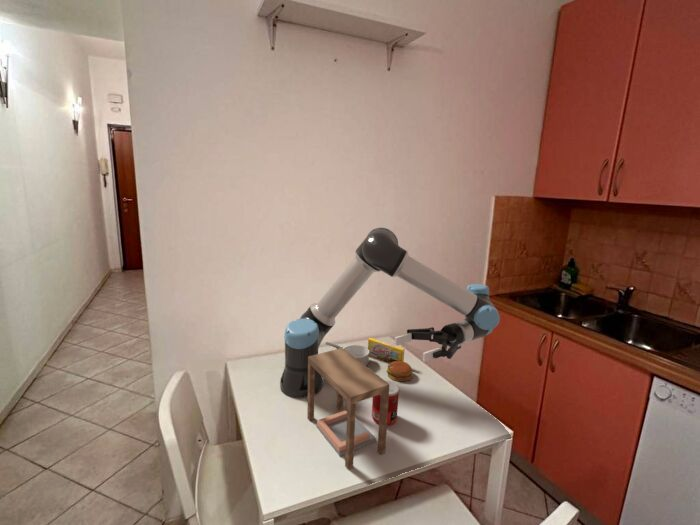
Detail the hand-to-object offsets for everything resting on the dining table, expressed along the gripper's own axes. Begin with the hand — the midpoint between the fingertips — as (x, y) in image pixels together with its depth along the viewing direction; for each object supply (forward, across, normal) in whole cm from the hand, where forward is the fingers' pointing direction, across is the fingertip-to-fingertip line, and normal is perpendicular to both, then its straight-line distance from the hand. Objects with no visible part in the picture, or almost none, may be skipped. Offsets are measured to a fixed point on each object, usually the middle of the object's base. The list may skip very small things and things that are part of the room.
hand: (408, 349), depth 115 cm
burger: (-11, +18, -22) cm, 30 cm away
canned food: (+10, 0, -21) cm, 23 cm away
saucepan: (+1, +38, -20) cm, 43 cm away
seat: (+24, 0, -20) cm, 31 cm away
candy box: (-12, +30, -21) cm, 39 cm away
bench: (+24, 0, -20) cm, 31 cm away
